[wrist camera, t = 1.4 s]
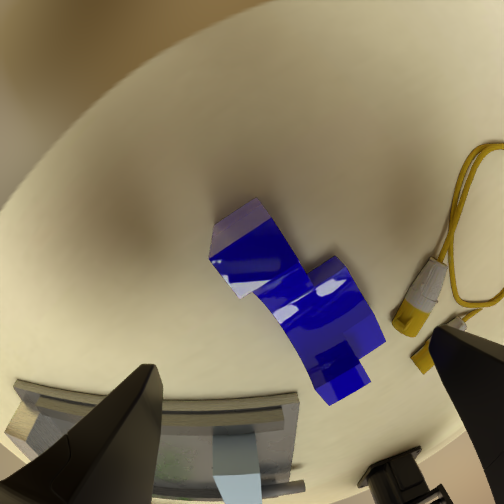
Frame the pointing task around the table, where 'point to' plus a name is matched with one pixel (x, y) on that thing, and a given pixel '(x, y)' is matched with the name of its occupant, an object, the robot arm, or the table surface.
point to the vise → (171, 434)
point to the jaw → (244, 471)
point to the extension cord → (441, 273)
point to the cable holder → (299, 299)
